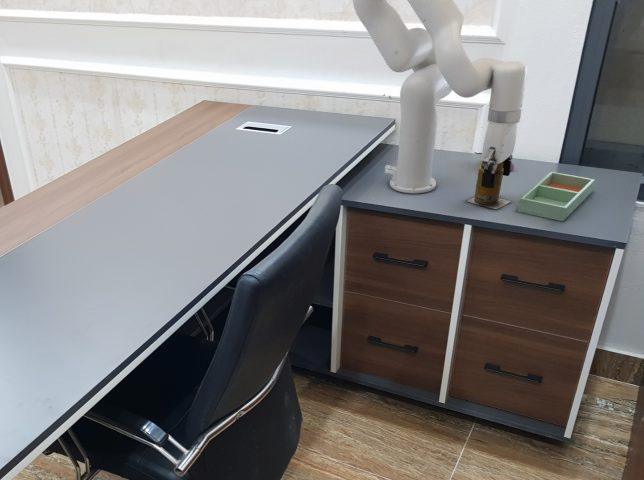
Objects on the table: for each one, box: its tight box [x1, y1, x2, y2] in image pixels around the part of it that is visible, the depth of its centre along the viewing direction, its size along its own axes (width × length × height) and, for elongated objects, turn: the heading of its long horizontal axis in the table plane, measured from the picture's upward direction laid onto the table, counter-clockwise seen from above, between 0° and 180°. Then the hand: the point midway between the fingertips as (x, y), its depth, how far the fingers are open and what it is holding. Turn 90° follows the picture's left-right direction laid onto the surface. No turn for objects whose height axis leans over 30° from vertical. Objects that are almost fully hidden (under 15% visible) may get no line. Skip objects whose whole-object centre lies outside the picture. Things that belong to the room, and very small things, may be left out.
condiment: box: [467, 159, 512, 210], centre depth 188 cm, size 7×8×12 cm
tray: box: [517, 171, 596, 222], centre depth 187 cm, size 11×22×4 cm, turn 138°
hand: (495, 180), depth 187 cm, fingers open, 9 cm apart
